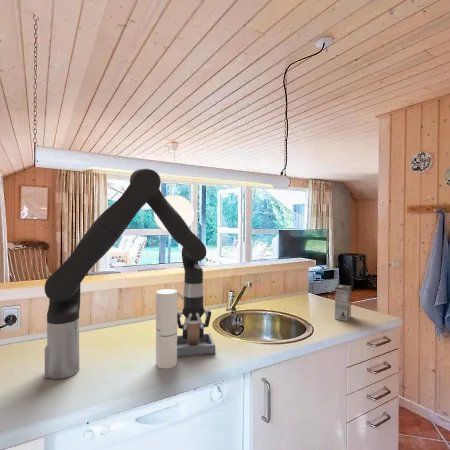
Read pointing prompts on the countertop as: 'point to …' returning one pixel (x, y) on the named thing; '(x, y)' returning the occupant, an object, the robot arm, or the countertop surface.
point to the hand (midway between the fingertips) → (193, 338)
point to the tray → (195, 347)
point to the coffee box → (343, 302)
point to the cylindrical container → (166, 328)
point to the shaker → (193, 333)
